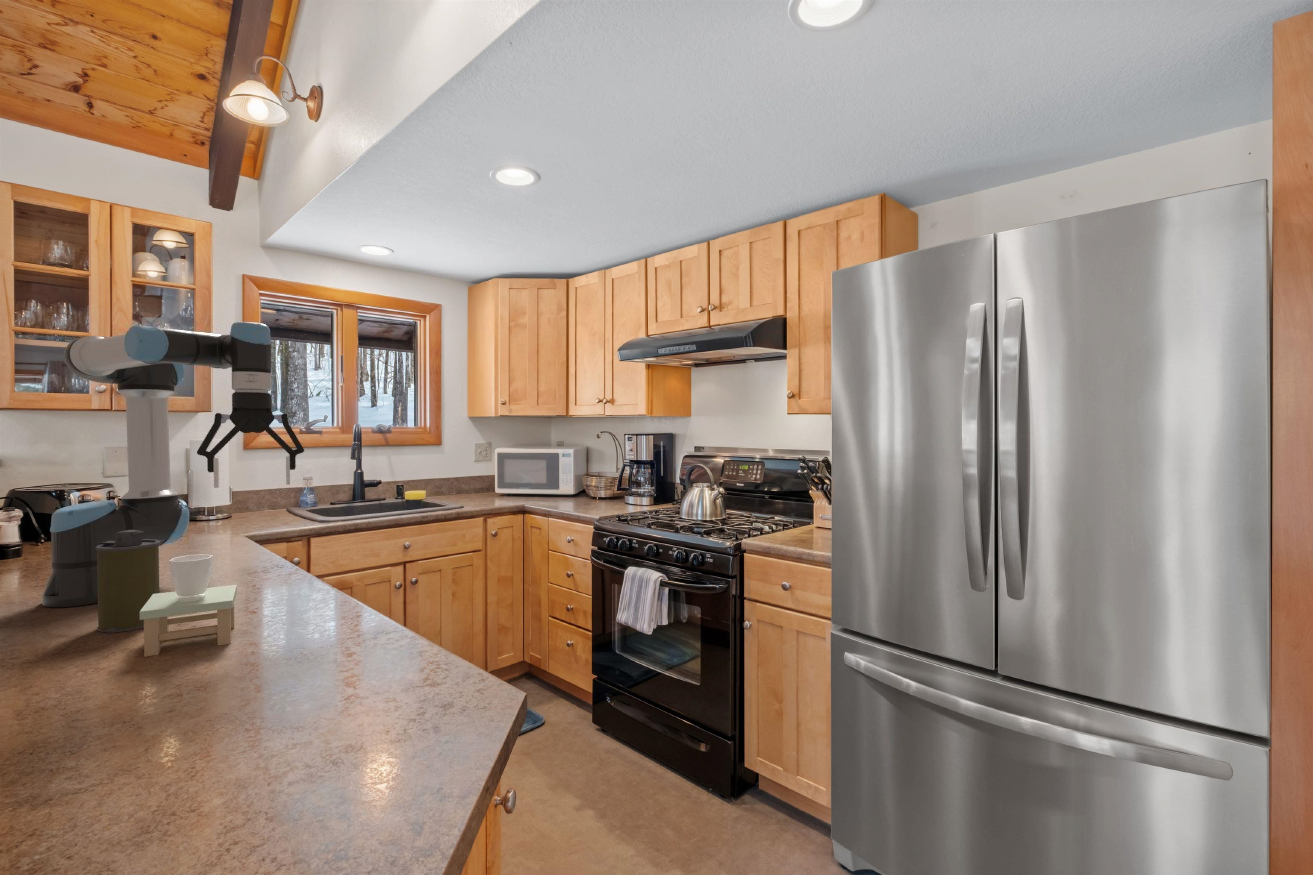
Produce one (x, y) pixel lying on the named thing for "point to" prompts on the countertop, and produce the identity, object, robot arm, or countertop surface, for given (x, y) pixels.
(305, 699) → the countertop surface
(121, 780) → the countertop surface
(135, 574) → the canister
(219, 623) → the stool
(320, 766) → the countertop surface
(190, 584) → the cup
